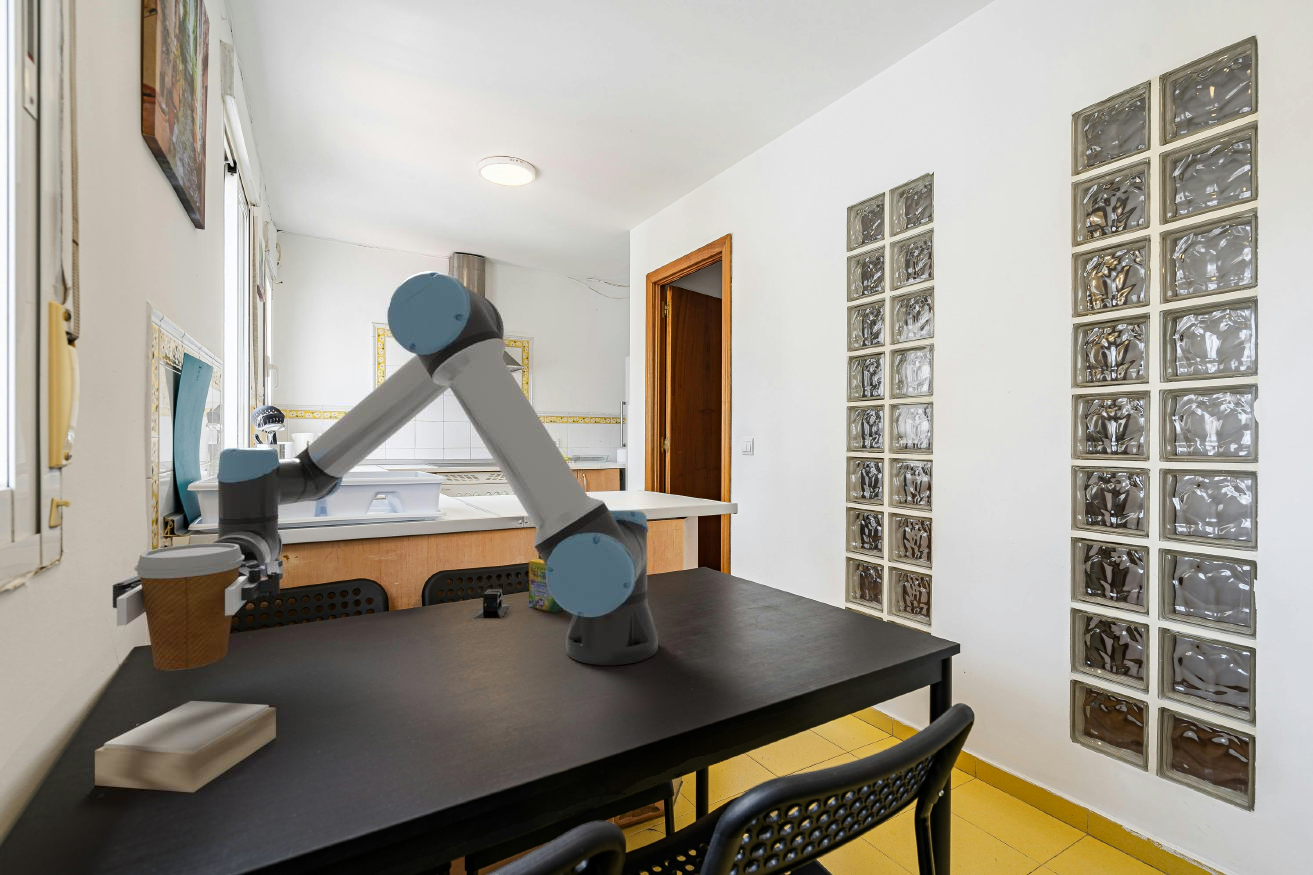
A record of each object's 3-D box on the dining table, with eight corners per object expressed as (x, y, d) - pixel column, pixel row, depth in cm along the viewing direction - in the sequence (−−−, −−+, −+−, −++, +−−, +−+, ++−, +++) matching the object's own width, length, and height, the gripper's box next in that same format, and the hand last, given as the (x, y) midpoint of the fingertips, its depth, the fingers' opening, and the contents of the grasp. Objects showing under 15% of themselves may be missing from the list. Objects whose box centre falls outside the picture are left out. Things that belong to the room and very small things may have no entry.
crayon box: (528, 607, 125) (528, 551, 125) (538, 604, 127) (538, 548, 127) (553, 613, 121) (553, 555, 121) (564, 609, 123) (564, 552, 123)
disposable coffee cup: (175, 645, 70) (176, 542, 70) (262, 643, 71) (262, 541, 71) (109, 678, 61) (109, 559, 61) (209, 675, 62) (209, 557, 62)
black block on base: (504, 623, 116) (503, 599, 116) (465, 623, 116) (465, 599, 116) (516, 605, 128) (515, 583, 128) (481, 605, 128) (481, 584, 128)
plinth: (275, 737, 71) (275, 703, 71) (193, 792, 60) (193, 751, 60) (190, 732, 72) (190, 698, 72) (95, 784, 61) (94, 745, 61)
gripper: (320, 583, 87) (296, 630, 66) (135, 599, 78) (40, 658, 57) (320, 531, 87) (296, 561, 66) (135, 541, 78) (40, 579, 57)
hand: (177, 606), depth 62 cm, fingers closed on disposable coffee cup, 8 cm apart
